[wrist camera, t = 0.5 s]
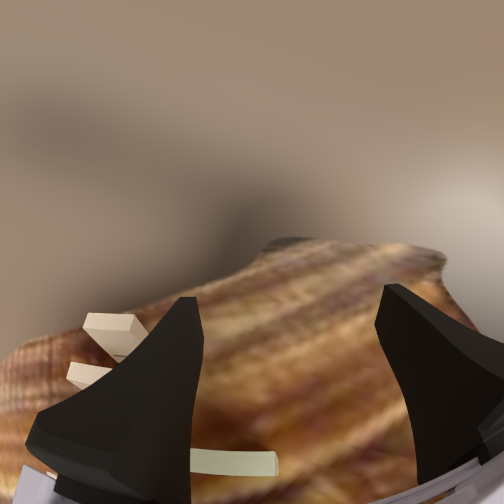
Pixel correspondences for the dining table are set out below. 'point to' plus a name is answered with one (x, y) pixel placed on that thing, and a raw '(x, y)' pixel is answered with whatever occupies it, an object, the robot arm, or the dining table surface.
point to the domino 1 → (85, 374)
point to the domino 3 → (233, 462)
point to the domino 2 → (115, 333)
